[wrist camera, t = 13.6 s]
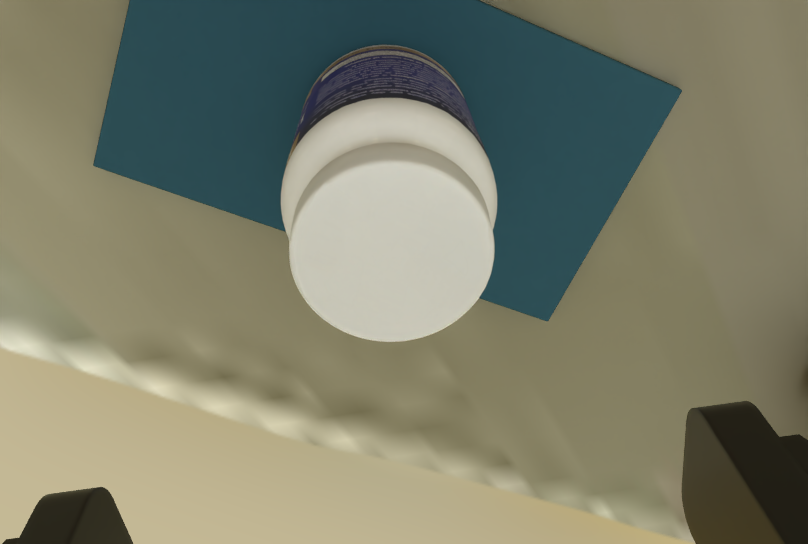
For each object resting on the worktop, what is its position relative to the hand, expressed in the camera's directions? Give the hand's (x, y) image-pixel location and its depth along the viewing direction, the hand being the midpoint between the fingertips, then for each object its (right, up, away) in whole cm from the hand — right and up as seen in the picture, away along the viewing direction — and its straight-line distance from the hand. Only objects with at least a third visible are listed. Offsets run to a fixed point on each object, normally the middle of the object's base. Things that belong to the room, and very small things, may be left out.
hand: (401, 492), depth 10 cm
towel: (-1, +8, +15) cm, 17 cm away
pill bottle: (-1, +8, +15) cm, 17 cm away
